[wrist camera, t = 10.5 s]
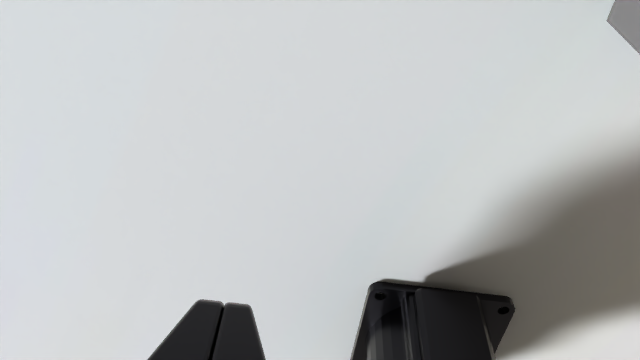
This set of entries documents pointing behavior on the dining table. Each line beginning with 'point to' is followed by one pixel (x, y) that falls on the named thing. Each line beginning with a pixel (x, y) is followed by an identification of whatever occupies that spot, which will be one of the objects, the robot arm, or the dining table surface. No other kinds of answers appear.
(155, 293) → the dining table surface
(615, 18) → the pocket bay
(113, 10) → the dining table surface
